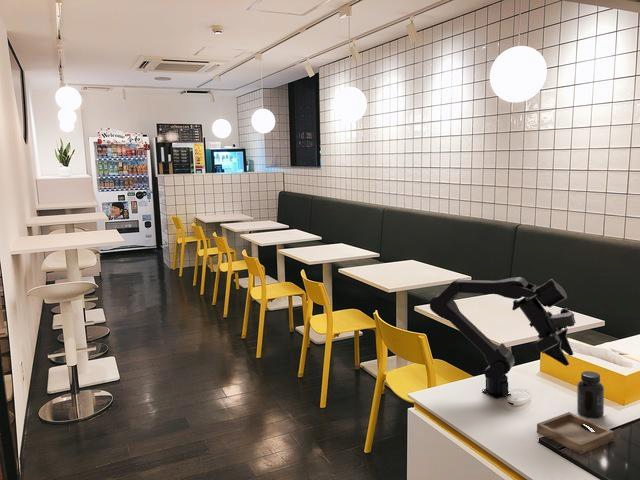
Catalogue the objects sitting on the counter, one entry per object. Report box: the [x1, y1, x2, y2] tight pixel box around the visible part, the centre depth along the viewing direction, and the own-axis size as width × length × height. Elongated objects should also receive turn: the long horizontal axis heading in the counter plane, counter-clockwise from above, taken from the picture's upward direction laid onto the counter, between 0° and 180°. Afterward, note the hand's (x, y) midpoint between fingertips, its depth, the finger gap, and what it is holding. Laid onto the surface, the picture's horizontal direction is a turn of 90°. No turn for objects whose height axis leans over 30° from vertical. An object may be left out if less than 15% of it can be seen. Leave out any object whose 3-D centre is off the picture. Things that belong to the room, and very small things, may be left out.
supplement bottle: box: [576, 370, 605, 419], centre depth 147 cm, size 7×7×12 cm
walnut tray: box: [536, 411, 615, 455], centre depth 136 cm, size 13×13×2 cm
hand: (569, 359), depth 150 cm, fingers open, 9 cm apart
